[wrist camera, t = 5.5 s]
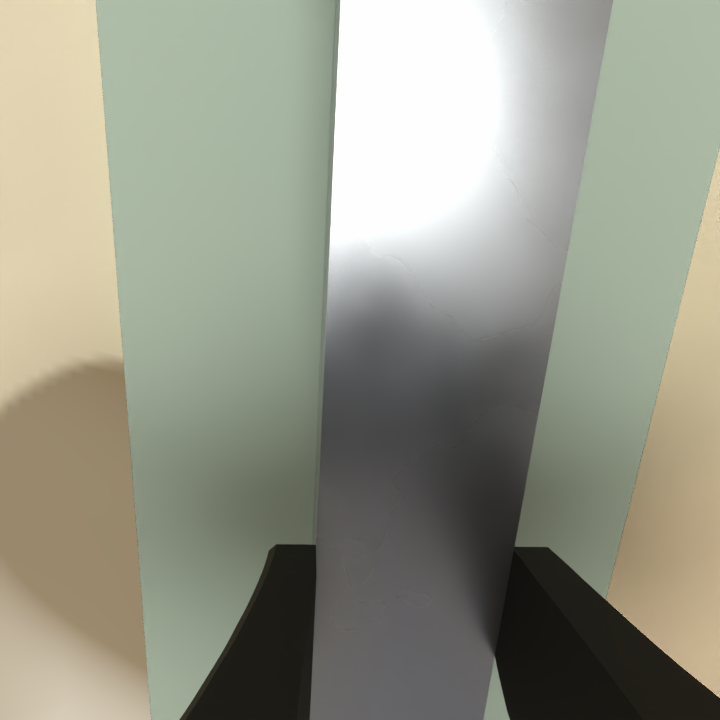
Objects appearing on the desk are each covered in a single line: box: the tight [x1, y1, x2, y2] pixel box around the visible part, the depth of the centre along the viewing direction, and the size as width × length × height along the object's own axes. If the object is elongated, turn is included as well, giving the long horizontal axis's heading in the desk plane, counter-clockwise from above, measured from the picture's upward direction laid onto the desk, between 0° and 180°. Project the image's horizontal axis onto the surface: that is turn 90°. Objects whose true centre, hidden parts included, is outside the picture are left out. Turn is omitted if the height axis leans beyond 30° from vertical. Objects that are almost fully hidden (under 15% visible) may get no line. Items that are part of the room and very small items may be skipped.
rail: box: [309, 0, 613, 720], centre depth 11 cm, size 19×3×3 cm, turn 176°
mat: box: [96, 0, 720, 720], centre depth 13 cm, size 22×10×1 cm, turn 176°
